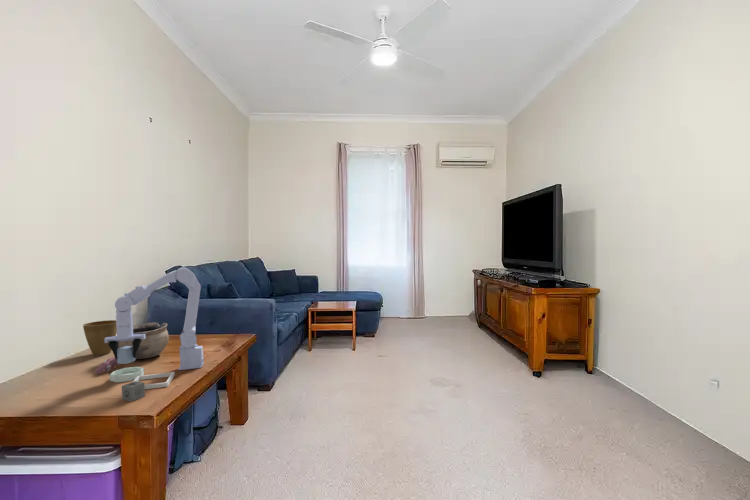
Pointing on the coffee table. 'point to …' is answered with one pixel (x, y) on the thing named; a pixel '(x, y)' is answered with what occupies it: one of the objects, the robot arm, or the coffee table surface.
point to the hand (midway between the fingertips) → (126, 358)
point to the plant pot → (99, 335)
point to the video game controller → (107, 365)
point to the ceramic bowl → (149, 339)
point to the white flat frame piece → (156, 385)
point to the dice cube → (133, 391)
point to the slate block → (125, 355)
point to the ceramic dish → (126, 374)
